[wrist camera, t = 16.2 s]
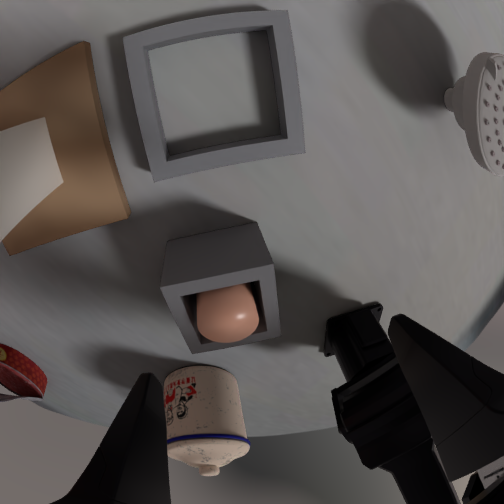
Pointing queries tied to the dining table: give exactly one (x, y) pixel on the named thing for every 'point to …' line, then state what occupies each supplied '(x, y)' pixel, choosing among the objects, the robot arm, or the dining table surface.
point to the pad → (66, 149)
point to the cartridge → (25, 171)
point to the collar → (230, 152)
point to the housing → (220, 280)
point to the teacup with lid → (204, 418)
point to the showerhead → (481, 109)
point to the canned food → (20, 376)
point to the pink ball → (227, 313)
